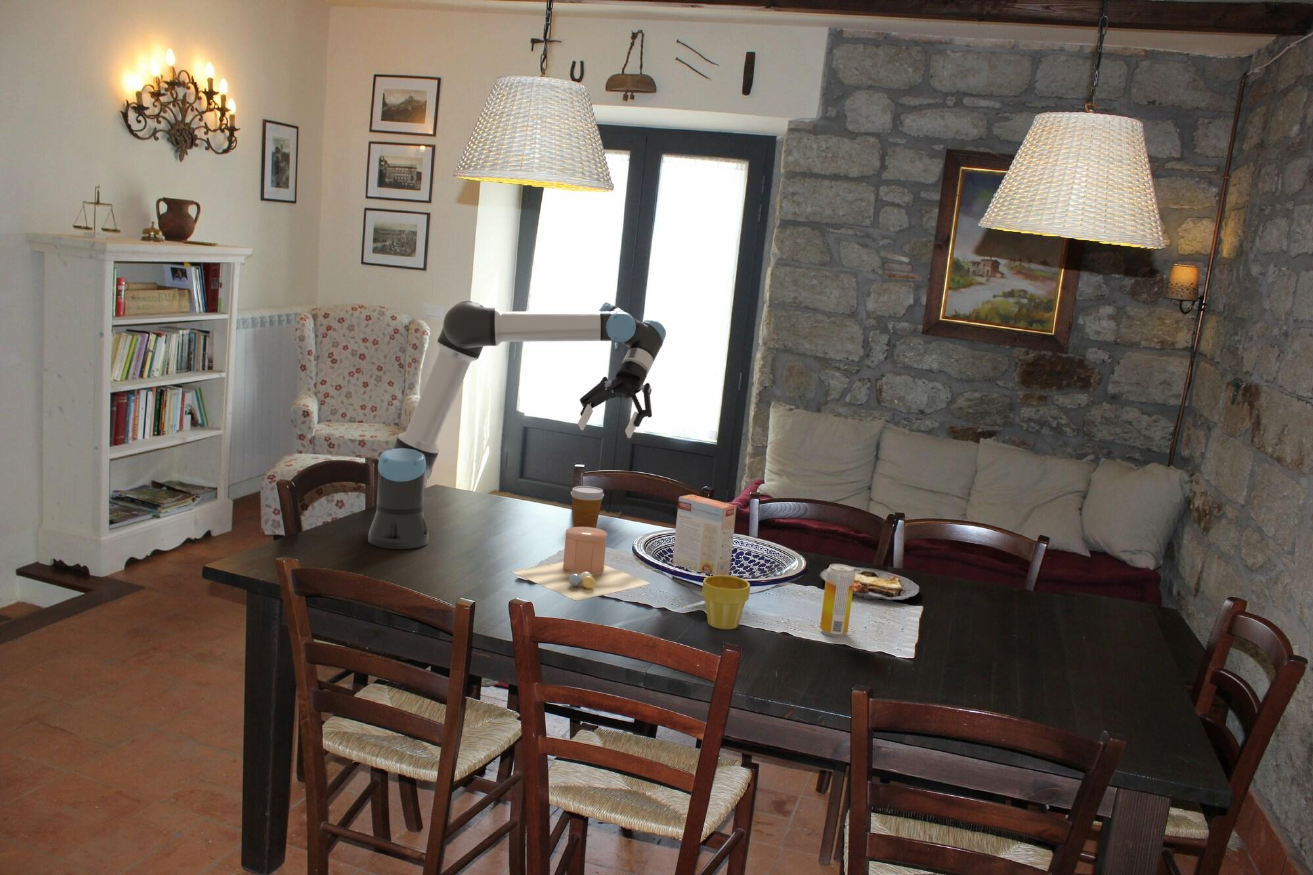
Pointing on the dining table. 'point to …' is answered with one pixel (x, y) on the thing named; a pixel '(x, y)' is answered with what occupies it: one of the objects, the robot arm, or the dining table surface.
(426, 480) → the robot arm
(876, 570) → the food plate
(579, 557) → the terracotta cup
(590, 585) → the marble amber
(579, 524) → the disposable coffee cup
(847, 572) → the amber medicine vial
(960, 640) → the dining table surface
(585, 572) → the marble ivory
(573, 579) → the grey ball
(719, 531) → the cracker box
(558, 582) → the bamboo mat
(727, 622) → the plant pot
